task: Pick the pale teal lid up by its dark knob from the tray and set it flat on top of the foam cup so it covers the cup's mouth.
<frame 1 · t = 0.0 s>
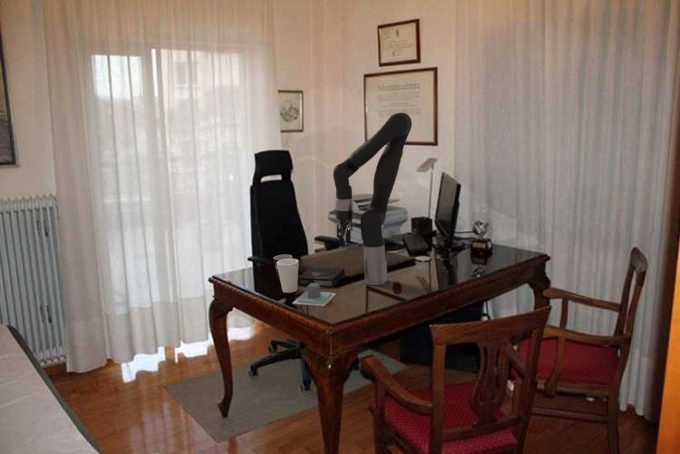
hand: (345, 243, 253), 17 cm above the table, tool pointing down, fingers open, 8 cm apart
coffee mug: (285, 276, 267), on the table
foam cup: (289, 290, 248), on the table
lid: (314, 291, 235), on the tray
portable cd player: (321, 281, 259), on the table
tray: (314, 299, 236), on the table
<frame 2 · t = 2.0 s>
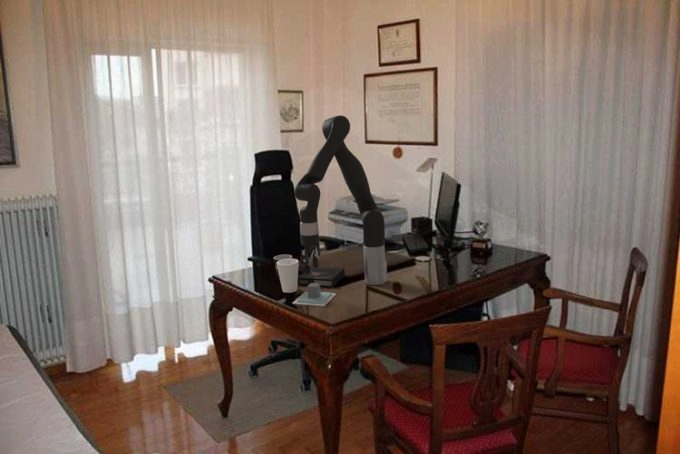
hand: (311, 270, 234), 12 cm above the table, tool pointing down, fingers open, 8 cm apart
nothing on the table moved.
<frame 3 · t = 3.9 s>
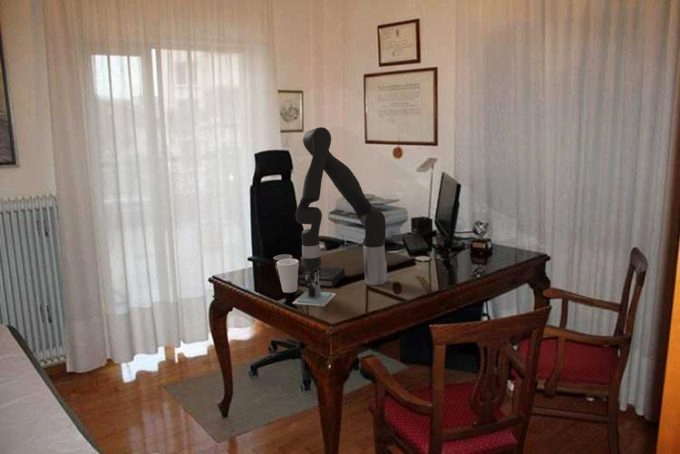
hand: (314, 294, 236), 2 cm above the table, tool pointing down, fingers closed on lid, 4 cm apart
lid: (314, 291, 235), on the tray, touching gripper
everything else where it was.
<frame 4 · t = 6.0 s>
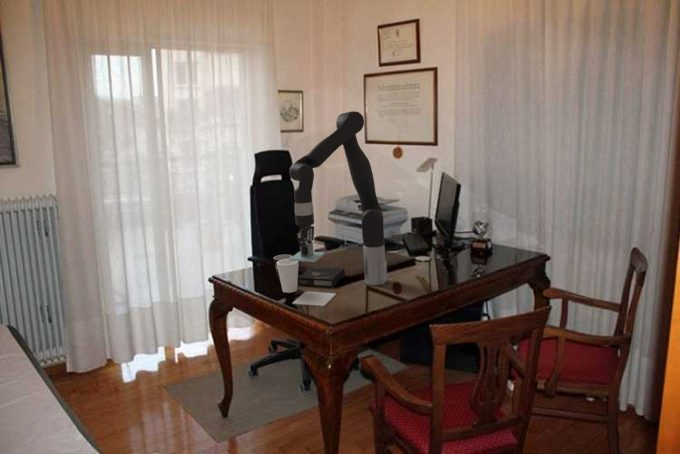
hand: (307, 253, 233), 19 cm above the table, tool pointing down, fingers closed on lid, 4 cm apart
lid: (306, 250, 233), point 21 cm above the table, touching gripper
everything else where it was.
when the fingers open (16 cm above the table, at t = 8.1 s): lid drops 1 cm, resting on foam cup.
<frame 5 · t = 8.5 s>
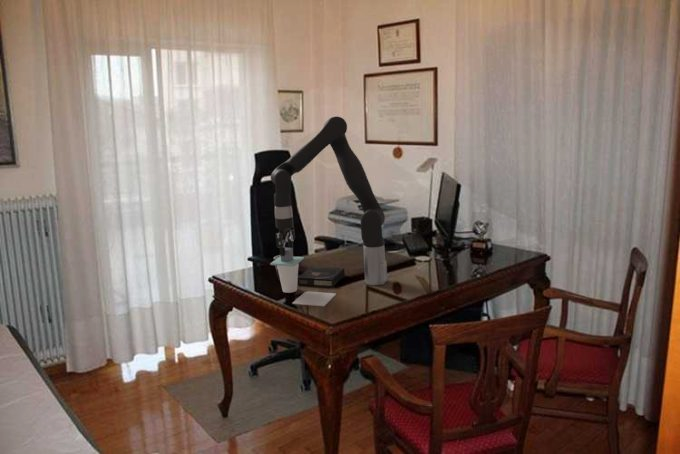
hand: (286, 253, 244), 17 cm above the table, tool pointing down, fingers open, 7 cm apart
foam cup: (289, 290, 248), on the table, touching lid
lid: (286, 255, 245), point 16 cm above the table, touching foam cup
everything else where it was.
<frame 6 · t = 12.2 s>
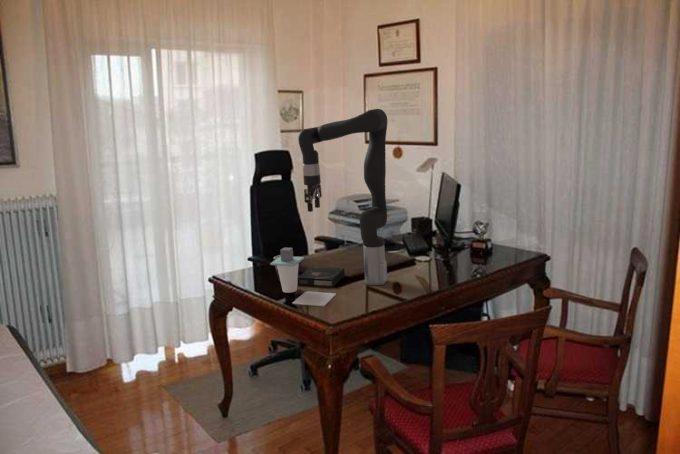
hand: (314, 209, 256), 32 cm above the table, tool pointing down, fingers open, 8 cm apart
nothing on the table moved.
at the end: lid 0.0 cm off-centre on the foam cup, point 16.1 cm above the foam cup's base; foam cup tilted 0°; the gripper is holding nothing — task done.
